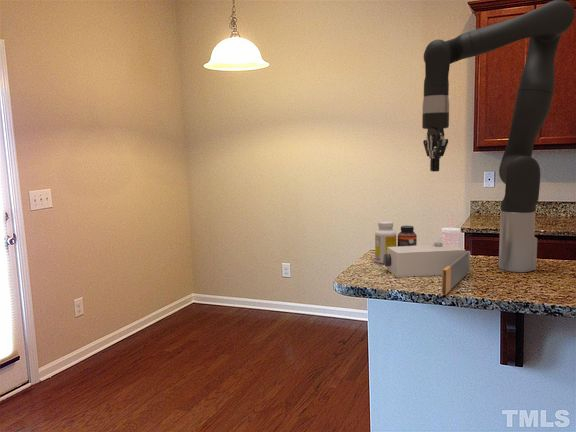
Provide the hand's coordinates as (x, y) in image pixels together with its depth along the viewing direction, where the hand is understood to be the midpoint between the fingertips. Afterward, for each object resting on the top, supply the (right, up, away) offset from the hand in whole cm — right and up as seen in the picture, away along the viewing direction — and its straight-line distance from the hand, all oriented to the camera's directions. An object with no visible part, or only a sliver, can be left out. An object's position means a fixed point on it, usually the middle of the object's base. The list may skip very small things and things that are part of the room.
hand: (434, 171), depth 150 cm
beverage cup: (+11, -27, +19) cm, 35 cm away
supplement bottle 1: (-12, -28, +11) cm, 33 cm away
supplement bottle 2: (-5, -28, +12) cm, 31 cm away
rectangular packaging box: (-4, -30, -3) cm, 30 cm away
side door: (+1, -31, -16) cm, 35 cm away
